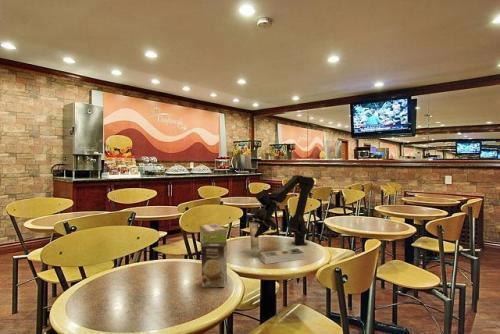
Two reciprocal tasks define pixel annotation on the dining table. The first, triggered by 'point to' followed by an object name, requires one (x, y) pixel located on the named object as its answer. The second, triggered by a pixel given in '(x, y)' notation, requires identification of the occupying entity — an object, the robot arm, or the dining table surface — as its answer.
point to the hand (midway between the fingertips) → (252, 236)
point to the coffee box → (214, 264)
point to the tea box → (212, 233)
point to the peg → (252, 233)
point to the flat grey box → (282, 256)
